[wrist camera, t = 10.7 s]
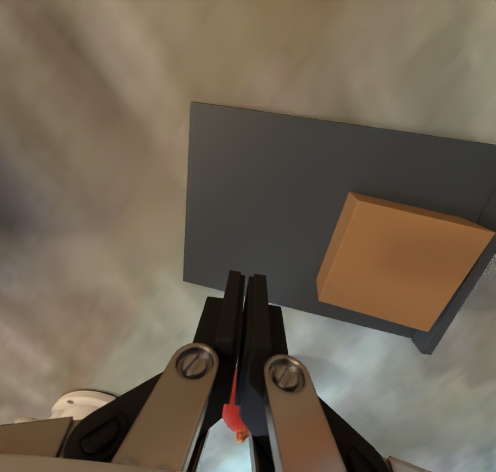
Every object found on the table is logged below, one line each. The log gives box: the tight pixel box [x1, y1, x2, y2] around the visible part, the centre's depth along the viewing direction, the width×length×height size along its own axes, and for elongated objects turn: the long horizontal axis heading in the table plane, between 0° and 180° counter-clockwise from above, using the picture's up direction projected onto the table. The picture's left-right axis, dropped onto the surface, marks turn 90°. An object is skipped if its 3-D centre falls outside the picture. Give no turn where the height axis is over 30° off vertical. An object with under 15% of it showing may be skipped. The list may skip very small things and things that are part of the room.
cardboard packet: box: [316, 192, 495, 332], centre depth 17 cm, size 8×8×4 cm
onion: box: [222, 367, 249, 443], centre depth 25 cm, size 6×6×8 cm
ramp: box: [183, 102, 496, 355], centre depth 19 cm, size 22×16×6 cm
